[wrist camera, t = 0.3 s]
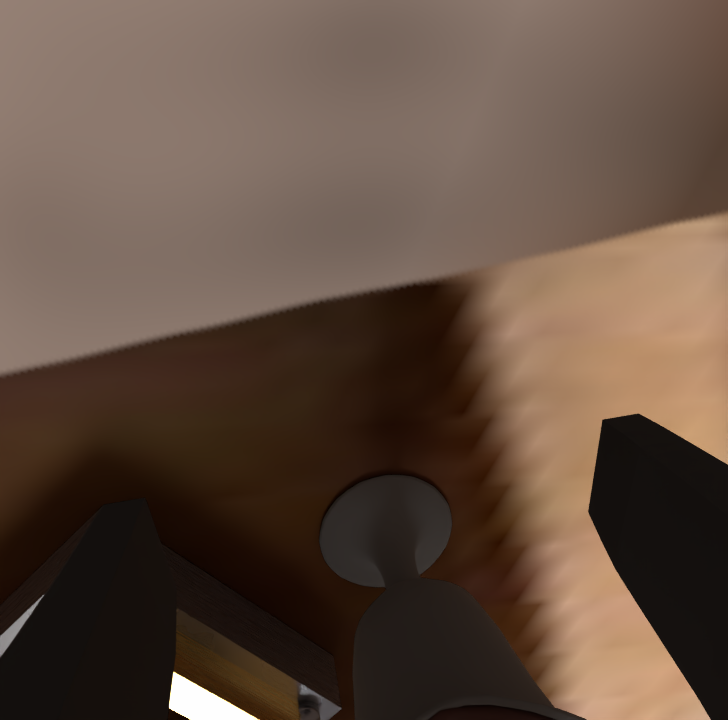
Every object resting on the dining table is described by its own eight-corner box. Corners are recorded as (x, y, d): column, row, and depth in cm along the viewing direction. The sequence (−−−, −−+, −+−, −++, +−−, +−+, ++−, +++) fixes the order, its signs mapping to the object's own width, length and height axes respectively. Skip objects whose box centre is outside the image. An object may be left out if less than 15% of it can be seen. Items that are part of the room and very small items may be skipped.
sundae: (260, 569, 23) (286, 1242, 10) (359, 423, 22) (557, 984, 8) (407, 624, 26) (595, 1233, 12) (506, 496, 24) (854, 1030, 10)
